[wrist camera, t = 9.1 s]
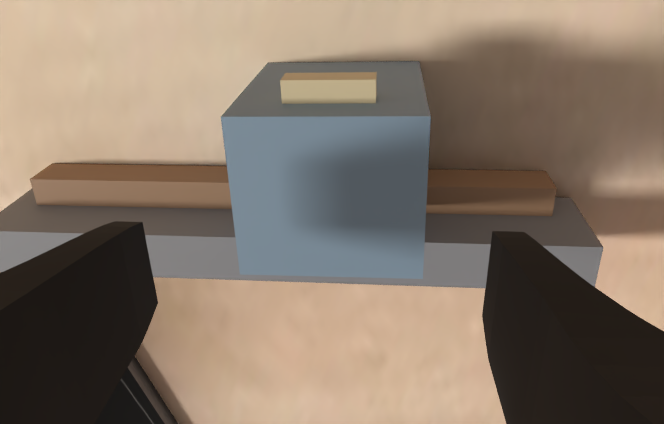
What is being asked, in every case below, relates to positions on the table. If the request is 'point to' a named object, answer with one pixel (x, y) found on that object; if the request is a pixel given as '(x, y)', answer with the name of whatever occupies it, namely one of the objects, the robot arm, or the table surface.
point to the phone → (135, 401)
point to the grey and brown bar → (219, 234)
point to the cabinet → (330, 169)
